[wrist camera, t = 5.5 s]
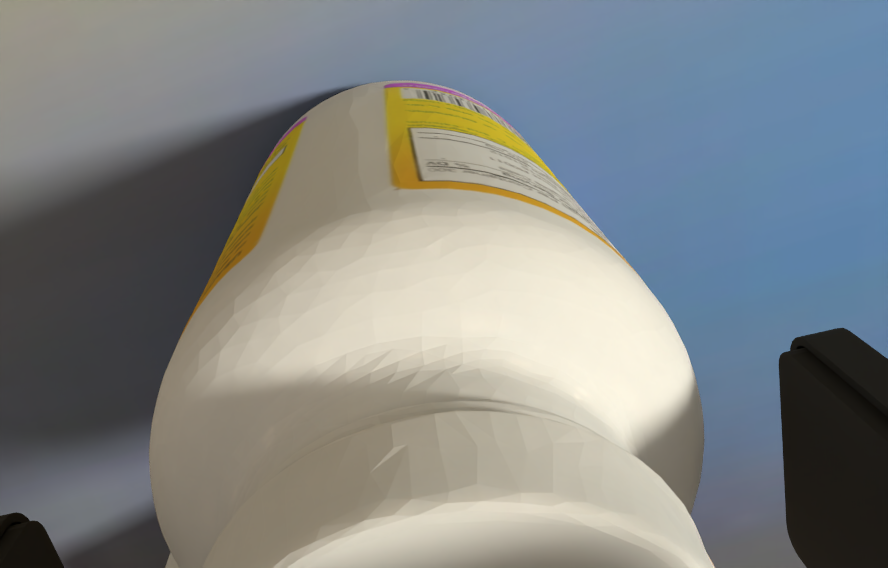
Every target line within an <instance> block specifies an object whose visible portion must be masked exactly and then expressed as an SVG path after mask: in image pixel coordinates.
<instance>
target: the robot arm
mask: <svg viewBox="0 0 888 568" xmlns="http://www.w3.org/2000/svg"><path fill="white" fill-rule="evenodd" d="M779 378H780V399H781V419H782V440H783V461H784V481H785V502H786V523H787V530H788V534H789V537H790V540H791V543H792V545H793V547H794V549H795V551H796V553H797V554H798V556H799V558H800V559H801V560H802V562H803V563H804V564H805V566H806V567H807V568H888V359H887V358H886V357H884V356H883V355H882V354H880V353H879V352H877V351H876V350H875V349H873V348H872V347H871V346H869V345H868V344H867V343H865V342H864V341H862V340H861V339H860V338H858V337H857V336H856V335H854V334H853V333H852V332H850V331H849V330H847V329H844V328H837V329H833V330H828V331H824V332H819V333H815V334H810V335H806V336H801V337H797V338H795V339H794V340H793V341H792V344H791V347H790V351H788V352H784V353H782V354H781V355H780V359H779ZM0 568H64V566H63V564H62V562H61V560H60V558H59V556H58V554H57V552H56V550H55V548H54V546H53V544H52V542H51V540H50V538H49V536H48V534H47V532H46V530H45V528H44V527H43V525H42V524H40V523H39V522H38V521H29V519H28V518H27V517H26V516H24V515H23V514H21V513H11V514H7V515H2V516H0Z"/></svg>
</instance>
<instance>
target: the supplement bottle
mask: <svg viewBox="0 0 888 568" xmlns="http://www.w3.org/2000/svg"><path fill="white" fill-rule="evenodd" d="M703 451H704V423H703V413H702V406H701V401H700V396H699V391H698V387H697V382H696V378H695V374H694V371H693V368H692V365H691V362H690V359H689V356H688V354H687V351H686V349H685V347H684V345H683V343H682V340H681V338H680V336H679V334H678V332H677V330H676V328H675V326H674V324H673V322H672V321H671V319H670V318H669V316H668V314H667V313H666V311H665V310H664V308H663V306H662V305H661V304H660V303H659V301H658V300H657V299H656V297H655V296H654V295H653V294H652V292H651V291H650V290H649V288H648V287H647V286H646V284H645V283H644V282H643V280H642V279H641V278H640V276H639V275H638V274H637V273H636V272H635V270H634V269H633V268H632V267H631V266H630V265H629V264H628V262H627V261H626V260H625V258H624V257H623V256H622V255H621V254H620V253H619V252H618V251H617V249H616V248H615V247H614V246H613V245H612V244H611V243H610V241H609V240H608V239H607V238H606V237H605V235H604V234H603V233H602V232H601V231H600V229H599V228H598V227H597V226H596V225H595V224H594V222H593V221H592V220H591V219H590V218H589V216H588V215H587V214H586V213H585V212H584V210H583V209H582V208H581V207H580V206H579V204H578V203H577V202H576V201H575V200H574V198H573V197H572V196H571V195H570V193H569V192H568V191H567V190H566V189H565V187H564V186H563V185H562V184H561V183H560V182H559V180H558V179H557V178H556V177H555V176H554V174H553V173H552V172H551V170H550V169H549V168H548V167H547V166H546V165H545V164H544V162H543V161H542V160H541V159H540V158H539V156H538V155H537V154H536V153H535V152H534V150H533V149H532V148H531V147H530V146H529V144H528V143H527V142H526V141H525V140H524V139H523V137H522V136H521V135H520V134H519V133H518V132H517V131H516V130H515V129H514V128H513V127H512V126H511V125H510V124H509V123H507V122H506V121H505V120H504V119H503V118H502V117H501V116H499V115H498V114H497V113H495V112H494V111H493V110H491V109H490V108H488V107H487V106H486V105H484V104H482V103H481V102H479V101H477V100H475V99H474V98H472V97H470V96H468V95H466V94H463V93H461V92H459V91H456V90H454V89H451V88H447V87H443V86H440V85H436V84H431V83H426V82H418V81H384V82H376V83H369V84H365V85H361V86H358V87H355V88H352V89H349V90H346V91H343V92H341V93H339V94H337V95H335V96H333V97H331V98H329V99H327V100H325V101H323V102H321V103H320V104H318V105H317V106H315V107H314V108H312V109H311V110H309V111H308V112H307V113H306V114H304V115H303V116H302V117H301V118H300V119H299V120H297V121H296V122H295V123H294V124H293V125H292V126H291V127H290V128H289V129H288V131H287V132H286V133H285V134H284V135H283V137H282V138H281V139H280V140H279V142H278V143H277V144H276V146H275V147H274V149H273V151H272V152H271V153H270V155H269V157H268V159H267V160H266V162H265V164H264V166H263V167H262V169H261V170H260V172H259V174H258V177H257V179H256V181H255V183H254V185H253V188H252V190H251V192H250V194H249V196H248V198H247V200H246V202H245V205H244V207H243V209H242V211H241V213H240V215H239V217H238V220H237V222H236V224H235V226H234V228H233V230H232V232H231V234H230V236H229V238H228V240H227V243H226V245H225V247H224V249H223V252H222V254H221V256H220V257H219V260H218V262H217V264H216V266H215V269H214V271H213V273H212V275H211V277H210V279H209V281H208V283H207V285H206V287H205V289H204V291H203V293H202V295H201V297H200V299H199V301H198V303H197V305H196V307H195V309H194V311H193V313H192V315H191V316H190V318H189V320H188V322H187V324H186V326H185V328H184V330H183V332H182V335H181V337H180V339H179V341H178V344H177V346H176V348H175V351H174V353H173V355H172V358H171V360H170V362H169V365H168V367H167V369H166V371H165V374H164V377H163V380H162V383H161V387H160V390H159V394H158V398H157V401H156V406H155V411H154V415H153V421H152V427H151V436H150V447H149V463H150V479H151V487H152V493H153V500H154V506H155V510H156V514H157V519H158V522H159V525H160V528H161V531H162V534H163V537H164V539H165V541H166V543H167V545H168V547H169V549H170V551H171V553H172V556H173V558H174V560H175V561H176V563H177V564H178V566H179V568H714V566H713V564H712V562H711V560H710V558H709V556H708V555H707V553H706V551H705V548H704V546H703V543H702V540H701V537H700V535H699V533H698V530H697V528H696V526H695V524H694V522H693V520H692V518H691V516H690V514H691V512H692V508H693V505H694V501H695V497H696V494H697V490H698V486H699V482H700V478H701V470H702V463H703Z"/></svg>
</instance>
